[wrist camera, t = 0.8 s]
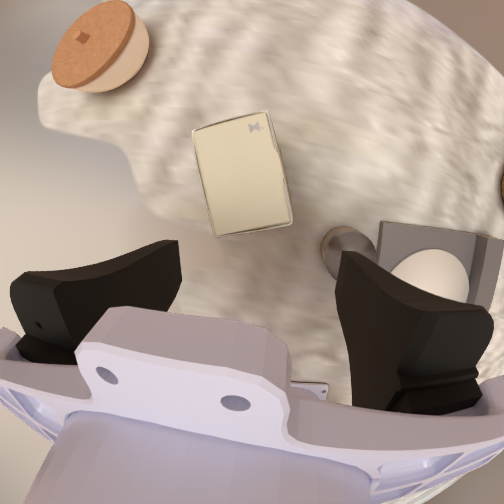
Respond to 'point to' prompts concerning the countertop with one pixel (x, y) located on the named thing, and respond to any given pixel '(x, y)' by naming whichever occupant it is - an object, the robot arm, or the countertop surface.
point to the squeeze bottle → (503, 188)
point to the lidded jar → (101, 49)
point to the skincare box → (242, 175)
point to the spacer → (344, 247)
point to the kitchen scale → (442, 261)
